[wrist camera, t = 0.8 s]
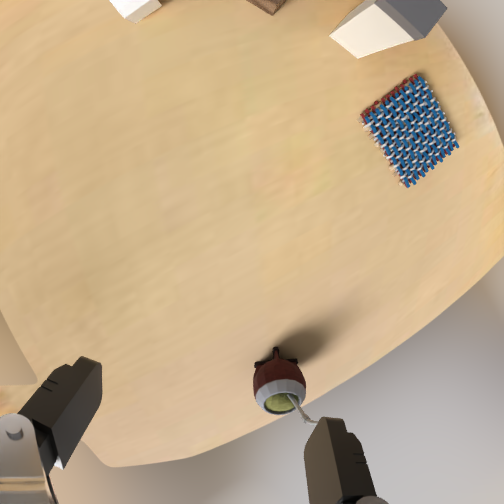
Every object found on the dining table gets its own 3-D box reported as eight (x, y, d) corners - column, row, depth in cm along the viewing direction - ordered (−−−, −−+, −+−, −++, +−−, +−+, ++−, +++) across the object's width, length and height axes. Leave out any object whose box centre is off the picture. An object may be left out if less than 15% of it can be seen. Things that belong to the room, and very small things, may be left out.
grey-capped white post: (328, 35, 28) (382, -3, 15) (348, 12, 26) (407, -30, 14) (357, 59, 29) (425, 37, 16) (376, 36, 27) (447, 8, 15)
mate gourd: (253, 380, 47) (259, 463, 33) (250, 342, 43) (256, 431, 30) (301, 375, 47) (319, 456, 33) (303, 337, 44) (326, 423, 30)
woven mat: (413, 70, 30) (422, 69, 28) (454, 142, 33) (463, 145, 31) (351, 116, 32) (357, 117, 30) (398, 188, 36) (406, 193, 34)
